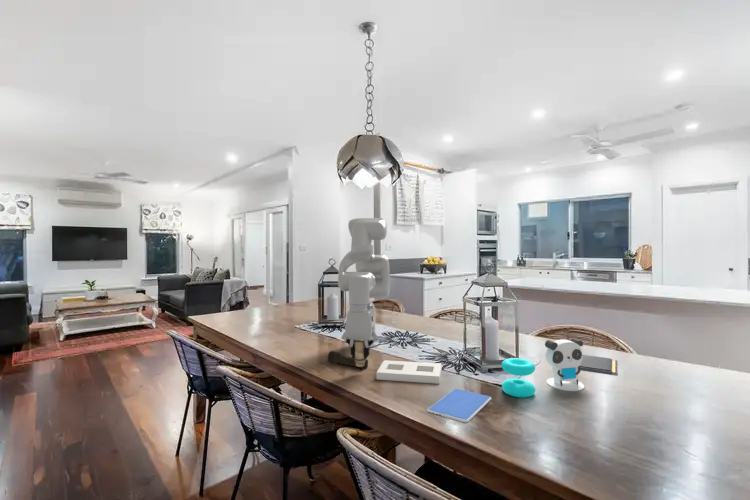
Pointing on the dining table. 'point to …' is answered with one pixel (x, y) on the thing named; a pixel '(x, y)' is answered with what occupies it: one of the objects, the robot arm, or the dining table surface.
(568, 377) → the panda figurine
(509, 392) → the donuts
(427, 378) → the hole board
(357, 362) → the oak peg
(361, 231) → the robot arm
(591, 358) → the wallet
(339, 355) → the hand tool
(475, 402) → the tablet computer
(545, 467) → the dining table surface
